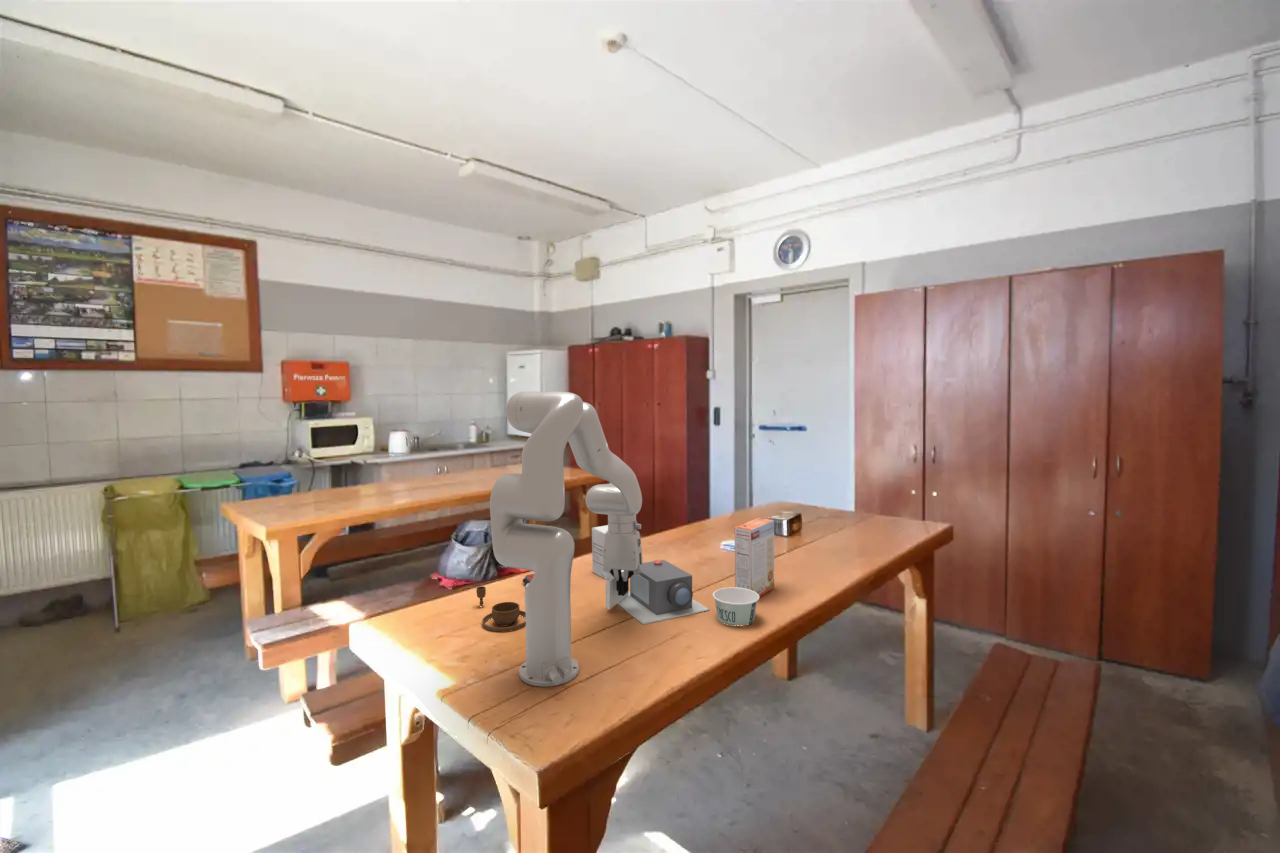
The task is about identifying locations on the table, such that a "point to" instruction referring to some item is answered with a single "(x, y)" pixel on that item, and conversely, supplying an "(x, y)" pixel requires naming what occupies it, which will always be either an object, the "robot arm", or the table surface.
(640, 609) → the camera box
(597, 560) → the supplement box
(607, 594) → the side door
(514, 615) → the place setting
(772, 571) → the cracker box
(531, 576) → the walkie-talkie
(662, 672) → the table surface
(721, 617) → the food container
